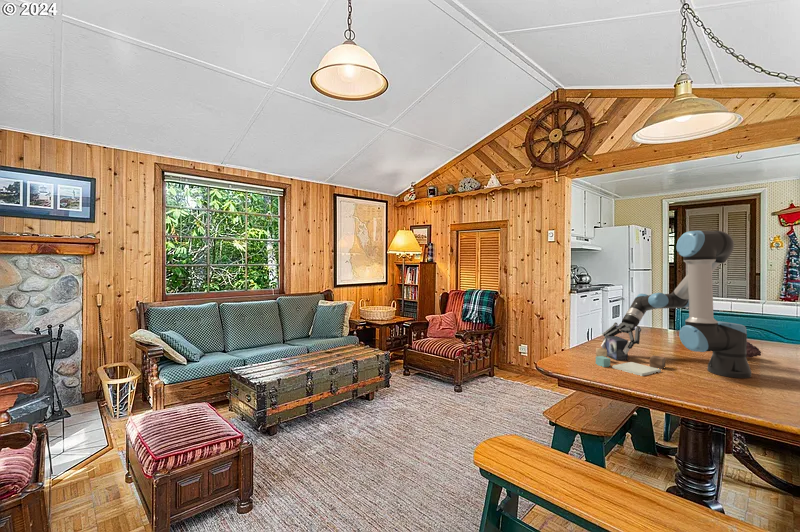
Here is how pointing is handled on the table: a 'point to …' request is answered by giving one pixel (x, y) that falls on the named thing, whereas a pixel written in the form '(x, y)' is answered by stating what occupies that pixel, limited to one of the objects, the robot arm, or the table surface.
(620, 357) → the small box
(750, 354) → the pine cone
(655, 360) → the walnut block
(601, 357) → the teal block
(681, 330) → the robot arm
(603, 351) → the oak cylinder
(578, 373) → the table surface
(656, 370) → the tile
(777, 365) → the table surface
